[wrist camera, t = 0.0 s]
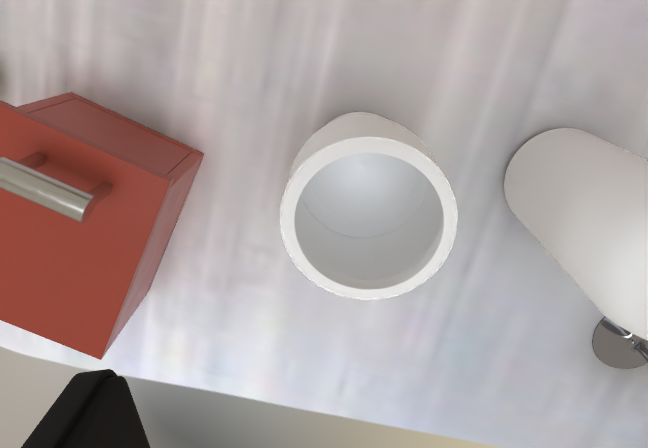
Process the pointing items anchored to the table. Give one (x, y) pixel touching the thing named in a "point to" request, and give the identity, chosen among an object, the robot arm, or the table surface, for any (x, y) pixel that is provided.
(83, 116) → the bin
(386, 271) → the jar
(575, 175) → the alcohol
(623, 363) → the wine glass
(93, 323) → the bin lid
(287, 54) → the table surface
